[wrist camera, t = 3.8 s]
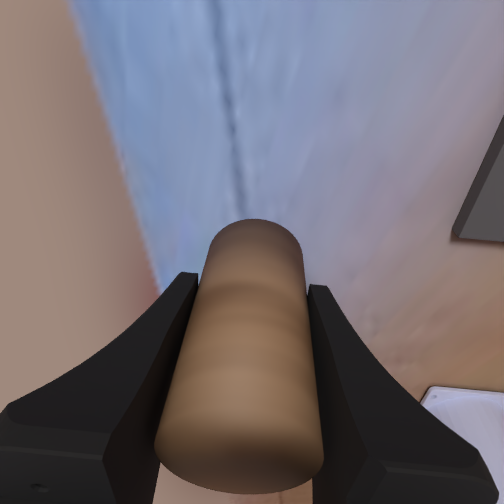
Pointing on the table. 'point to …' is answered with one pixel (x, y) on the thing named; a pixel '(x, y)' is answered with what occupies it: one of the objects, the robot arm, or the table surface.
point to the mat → (485, 197)
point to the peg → (245, 370)
